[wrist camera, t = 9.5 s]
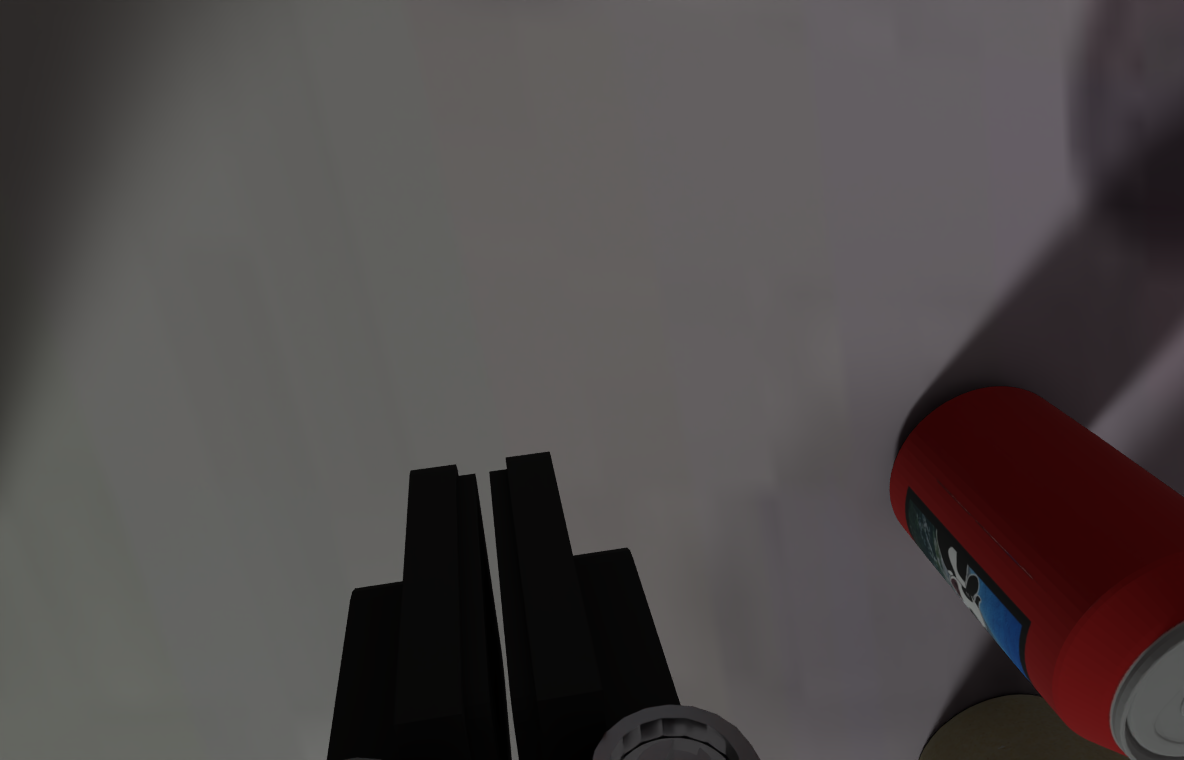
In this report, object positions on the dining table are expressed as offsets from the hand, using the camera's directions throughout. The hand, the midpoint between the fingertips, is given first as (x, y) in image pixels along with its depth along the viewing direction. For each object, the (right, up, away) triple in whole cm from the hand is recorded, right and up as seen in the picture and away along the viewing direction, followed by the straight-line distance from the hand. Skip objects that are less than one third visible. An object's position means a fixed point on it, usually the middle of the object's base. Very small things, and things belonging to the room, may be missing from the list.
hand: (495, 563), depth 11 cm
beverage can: (+15, -1, +22) cm, 27 cm away
